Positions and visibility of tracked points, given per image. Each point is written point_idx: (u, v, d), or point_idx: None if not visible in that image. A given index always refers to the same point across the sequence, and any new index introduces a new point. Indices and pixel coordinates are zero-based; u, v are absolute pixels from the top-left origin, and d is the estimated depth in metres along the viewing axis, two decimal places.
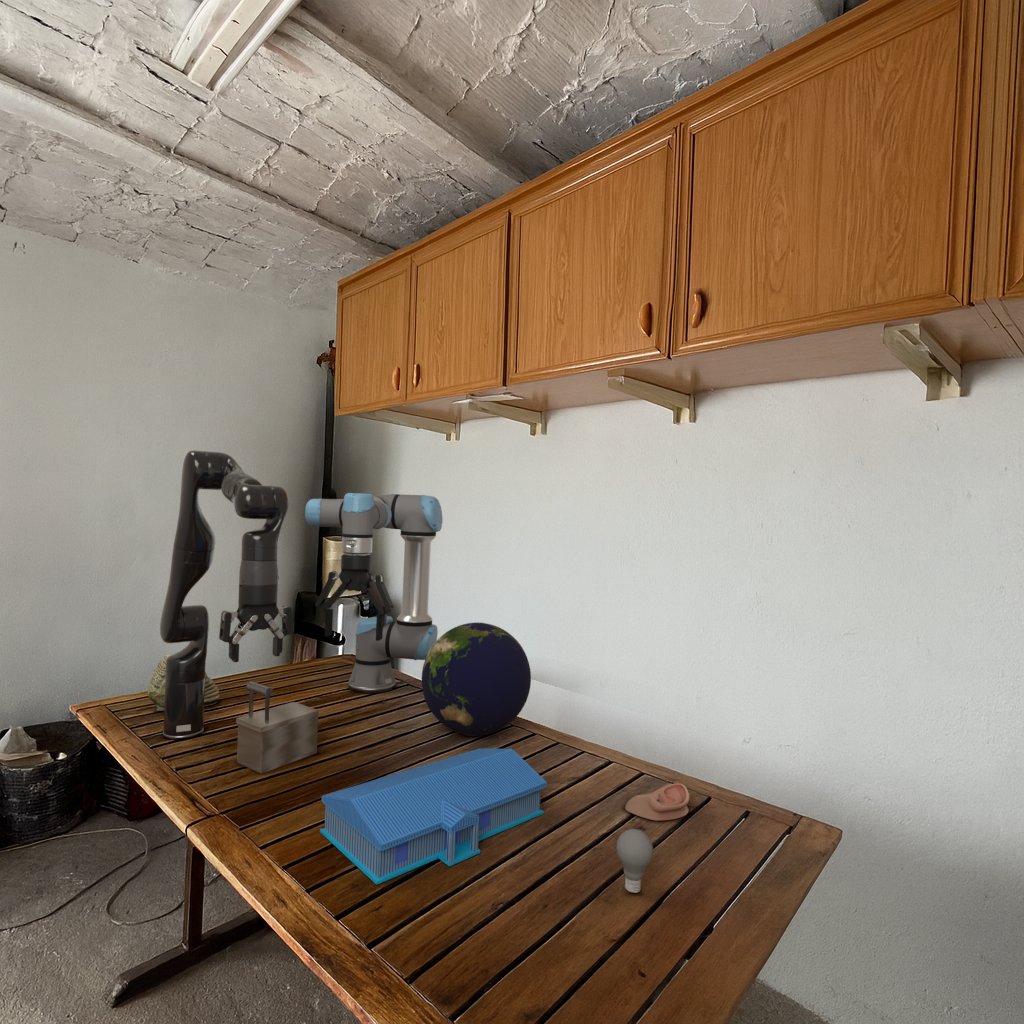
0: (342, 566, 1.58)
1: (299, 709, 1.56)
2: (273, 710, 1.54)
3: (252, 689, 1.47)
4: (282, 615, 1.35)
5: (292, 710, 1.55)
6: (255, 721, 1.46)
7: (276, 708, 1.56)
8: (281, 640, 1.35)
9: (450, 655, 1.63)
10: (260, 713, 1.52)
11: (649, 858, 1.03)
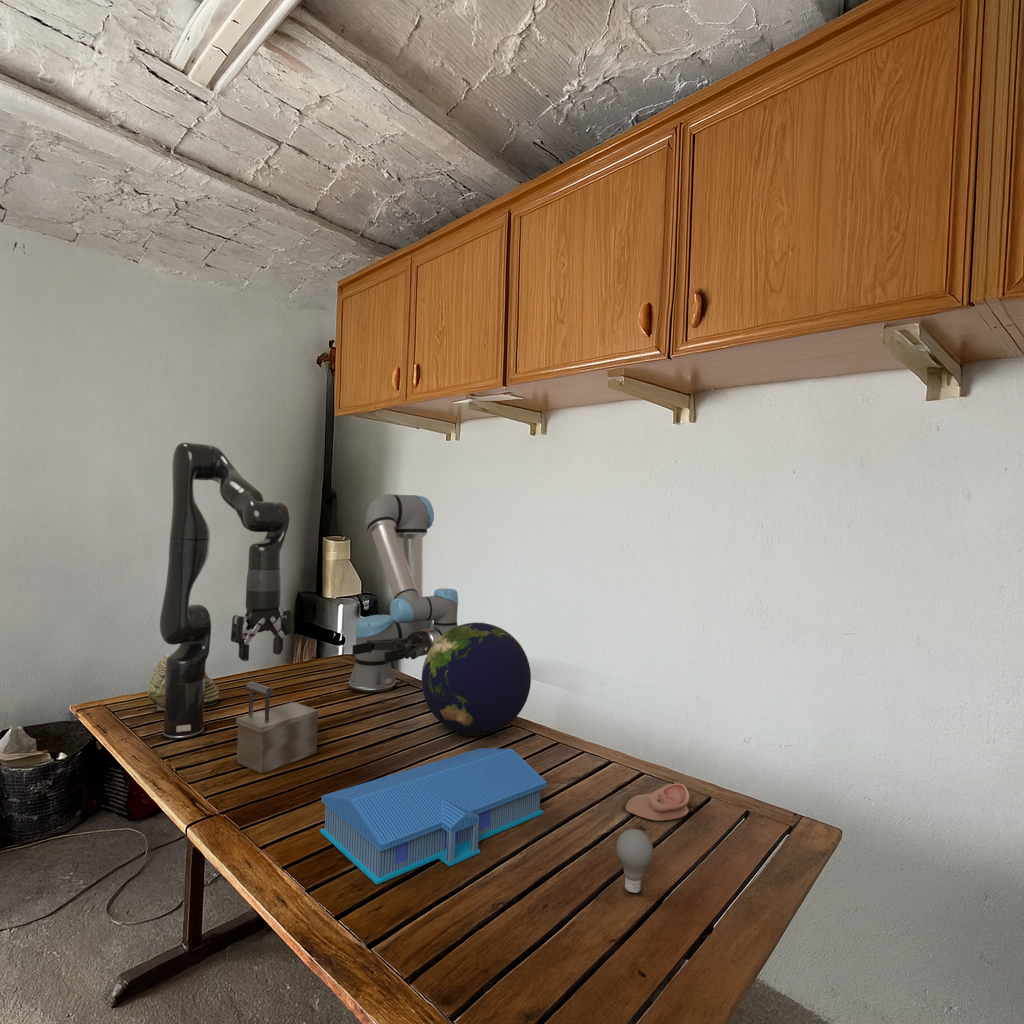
0: (421, 654, 1.90)
1: (299, 709, 1.56)
2: (273, 710, 1.54)
3: (252, 689, 1.47)
4: None
5: (292, 710, 1.55)
6: (255, 721, 1.46)
7: (276, 708, 1.56)
8: None
9: (450, 655, 1.63)
10: (260, 713, 1.52)
11: (649, 858, 1.03)
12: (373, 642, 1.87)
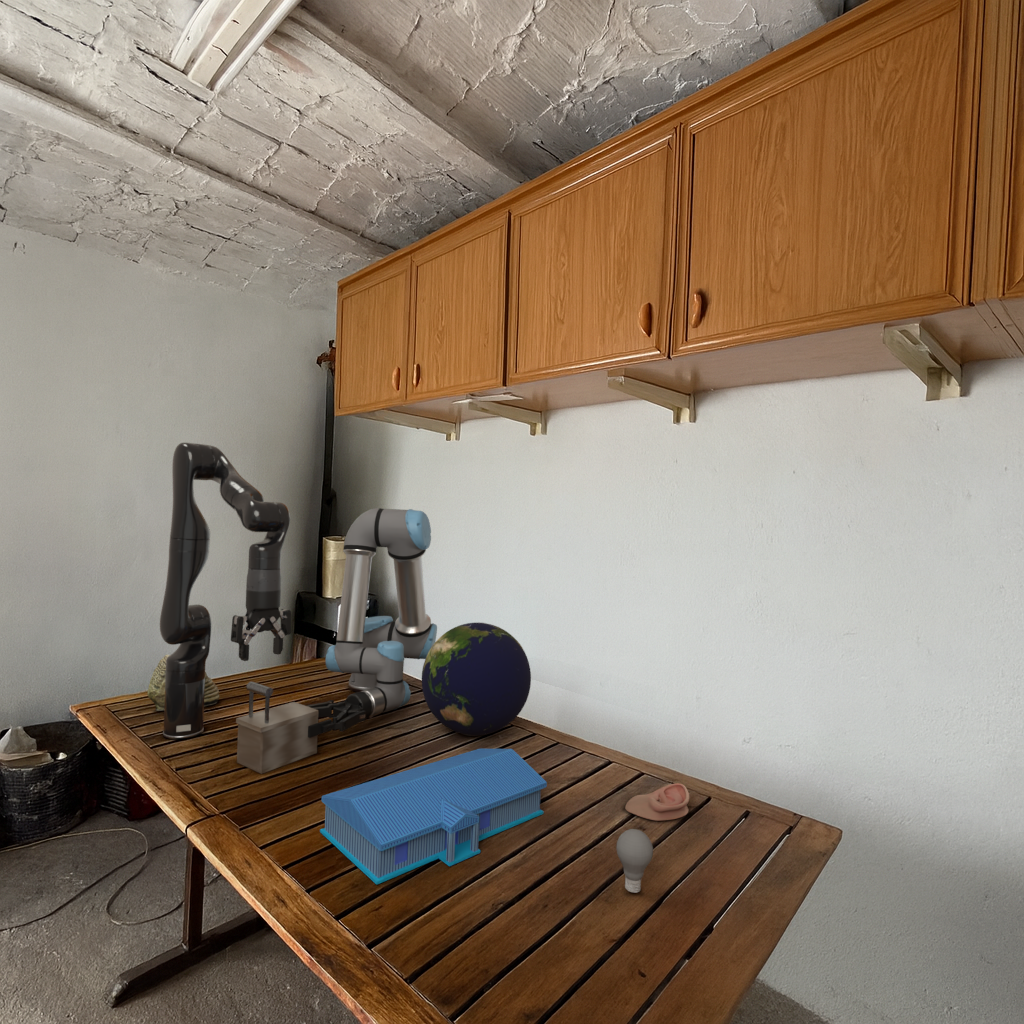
0: None
1: (299, 709, 1.56)
2: (273, 710, 1.54)
3: (252, 689, 1.47)
4: None
5: (292, 710, 1.55)
6: (255, 721, 1.46)
7: (276, 708, 1.56)
8: None
9: (450, 655, 1.63)
10: (260, 713, 1.52)
11: (649, 858, 1.03)
12: None
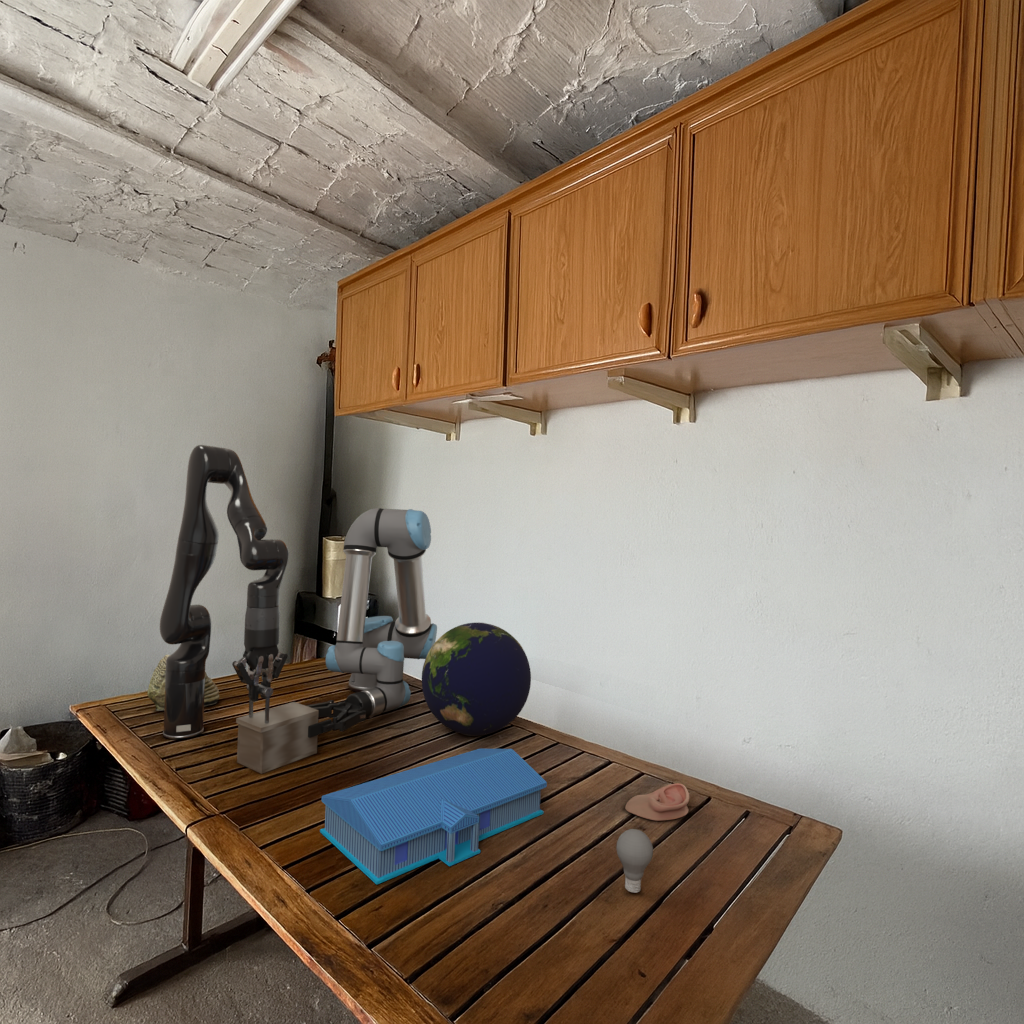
0: None
1: (299, 709, 1.56)
2: (273, 710, 1.54)
3: None
4: None
5: (292, 710, 1.55)
6: (255, 721, 1.46)
7: (276, 708, 1.56)
8: None
9: (450, 655, 1.63)
10: (260, 713, 1.52)
11: (649, 858, 1.03)
12: None
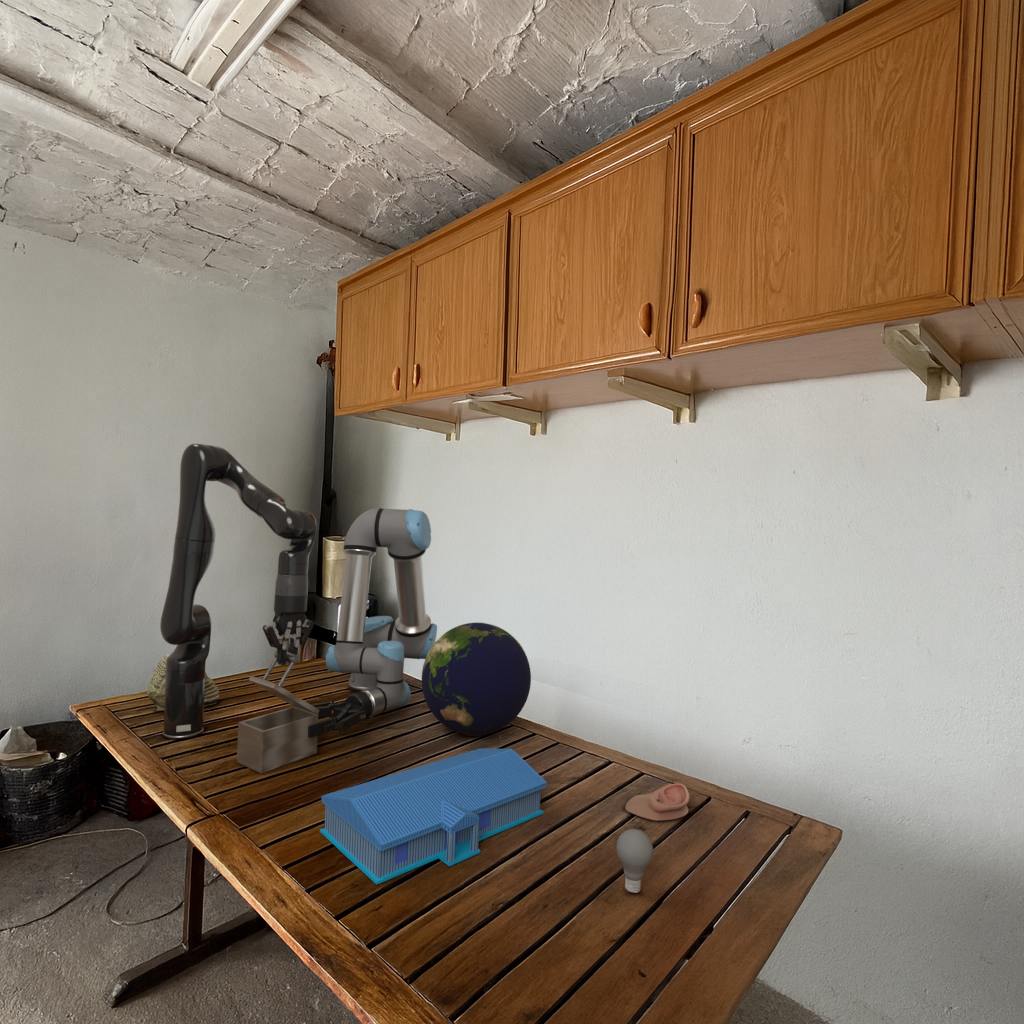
0: None
1: None
2: None
3: None
4: None
5: None
6: None
7: None
8: None
9: (450, 655, 1.63)
10: None
11: (649, 858, 1.03)
12: None
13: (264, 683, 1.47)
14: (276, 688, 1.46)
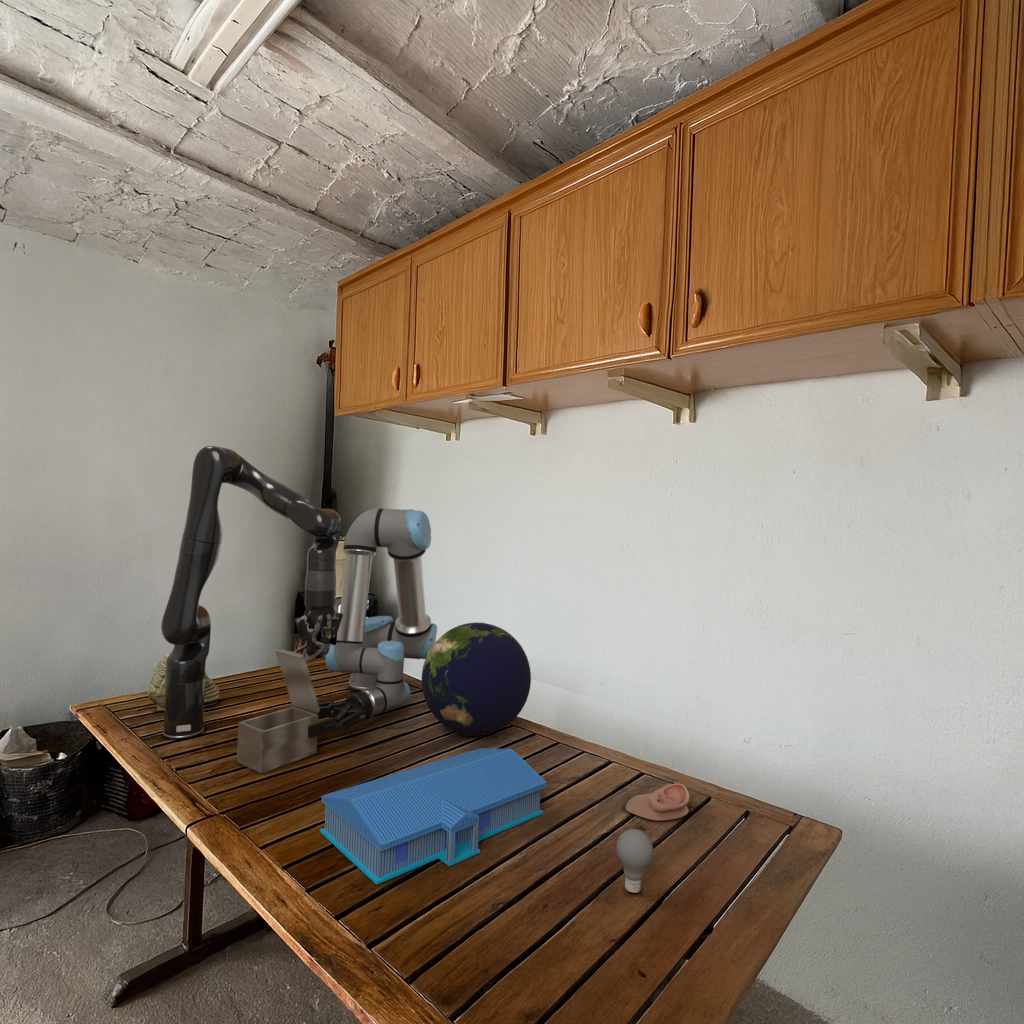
0: None
1: None
2: None
3: None
4: None
5: None
6: None
7: None
8: None
9: (450, 655, 1.63)
10: None
11: (649, 858, 1.03)
12: None
13: (292, 653, 1.53)
14: (302, 659, 1.51)
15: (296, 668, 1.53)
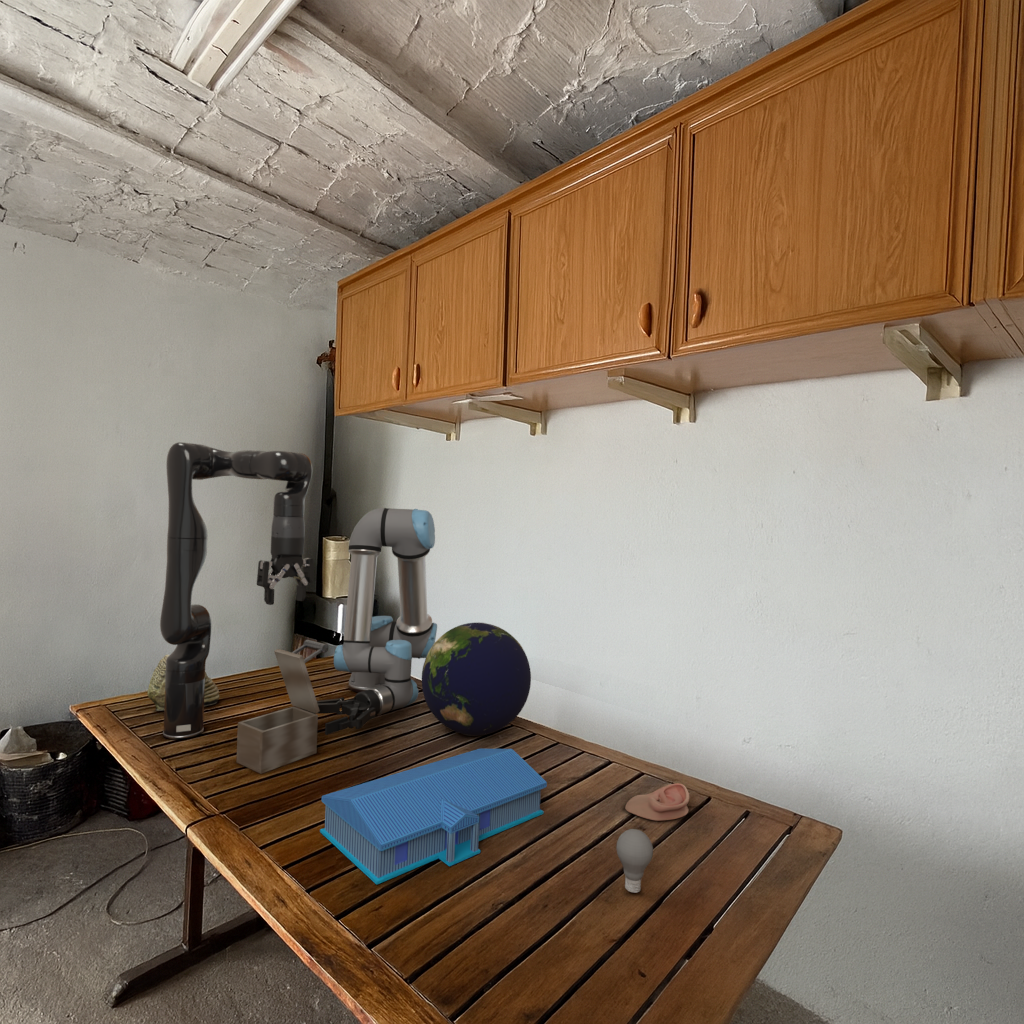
0: None
1: None
2: None
3: (311, 641, 1.60)
4: None
5: None
6: None
7: None
8: None
9: (450, 655, 1.63)
10: None
11: (649, 858, 1.03)
12: None
13: (290, 654, 1.53)
14: (300, 660, 1.51)
15: (295, 668, 1.53)
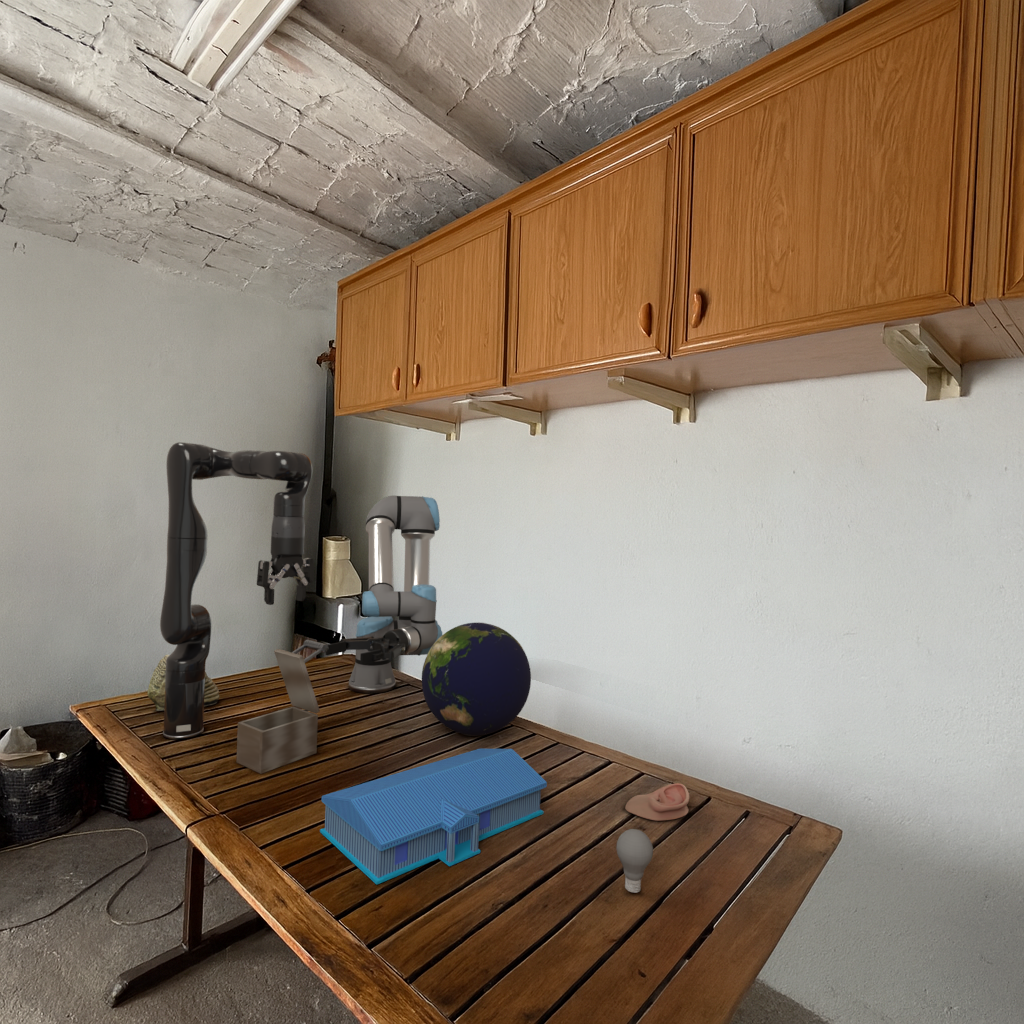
0: None
1: None
2: None
3: (311, 641, 1.60)
4: None
5: None
6: None
7: None
8: None
9: (450, 655, 1.63)
10: None
11: (649, 858, 1.03)
12: (347, 641, 1.78)
13: (290, 654, 1.53)
14: (300, 660, 1.51)
15: (295, 668, 1.53)
